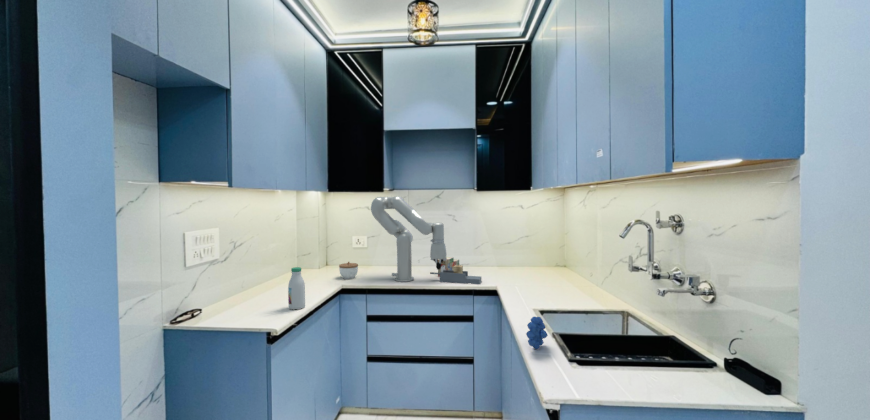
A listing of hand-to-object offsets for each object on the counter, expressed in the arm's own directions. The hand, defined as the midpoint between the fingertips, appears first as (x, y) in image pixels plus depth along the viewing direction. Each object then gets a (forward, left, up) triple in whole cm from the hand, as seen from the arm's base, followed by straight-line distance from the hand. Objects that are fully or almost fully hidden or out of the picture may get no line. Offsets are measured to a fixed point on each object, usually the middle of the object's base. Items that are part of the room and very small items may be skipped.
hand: (438, 269), depth 234 cm
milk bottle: (-53, -75, -8) cm, 92 cm away
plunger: (-1, 0, -4) cm, 4 cm away
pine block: (+13, 0, -4) cm, 14 cm away
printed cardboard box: (+2, +19, -8) cm, 21 cm away
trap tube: (+15, 0, -7) cm, 16 cm away
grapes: (+62, -94, -8) cm, 113 cm away
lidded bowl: (-61, -9, -8) cm, 62 cm away
